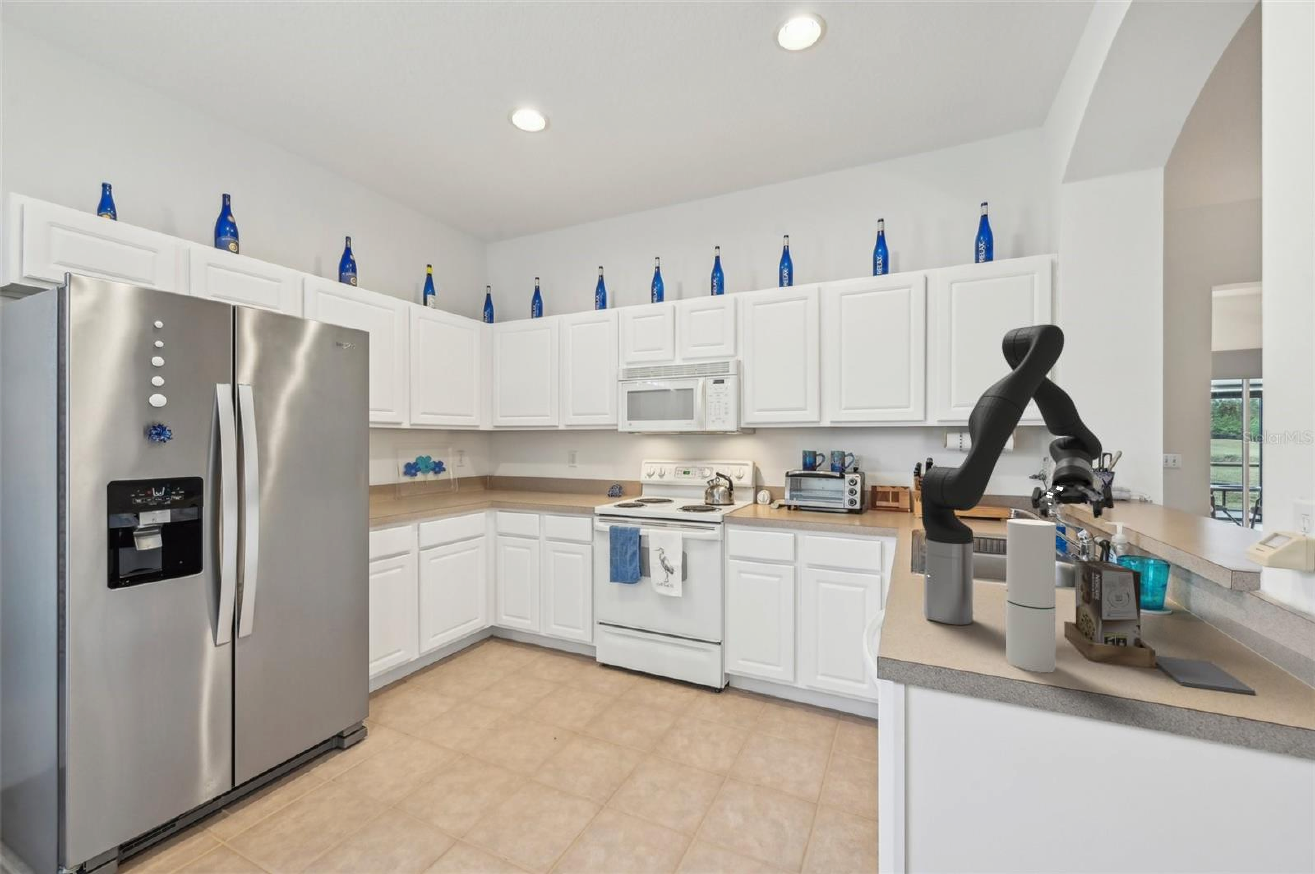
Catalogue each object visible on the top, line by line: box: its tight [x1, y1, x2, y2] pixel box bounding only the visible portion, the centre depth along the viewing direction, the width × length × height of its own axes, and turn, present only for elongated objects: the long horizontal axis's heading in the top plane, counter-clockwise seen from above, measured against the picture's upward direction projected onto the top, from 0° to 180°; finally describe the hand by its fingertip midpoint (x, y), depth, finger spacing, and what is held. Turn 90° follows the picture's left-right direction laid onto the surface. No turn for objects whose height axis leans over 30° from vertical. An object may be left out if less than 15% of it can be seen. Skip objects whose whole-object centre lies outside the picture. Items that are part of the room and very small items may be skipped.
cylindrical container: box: [1005, 518, 1057, 673], centre depth 97 cm, size 7×7×25 cm
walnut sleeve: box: [1063, 620, 1157, 669], centre depth 102 cm, size 10×13×3 cm
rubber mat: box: [1155, 654, 1256, 696], centre depth 92 cm, size 9×12×1 cm
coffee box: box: [1074, 560, 1142, 648], centre depth 102 cm, size 9×6×16 cm
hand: (1070, 514), depth 116 cm, fingers open, 8 cm apart
